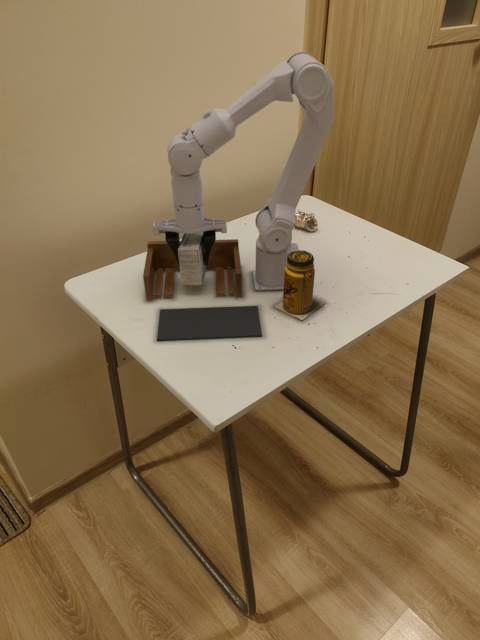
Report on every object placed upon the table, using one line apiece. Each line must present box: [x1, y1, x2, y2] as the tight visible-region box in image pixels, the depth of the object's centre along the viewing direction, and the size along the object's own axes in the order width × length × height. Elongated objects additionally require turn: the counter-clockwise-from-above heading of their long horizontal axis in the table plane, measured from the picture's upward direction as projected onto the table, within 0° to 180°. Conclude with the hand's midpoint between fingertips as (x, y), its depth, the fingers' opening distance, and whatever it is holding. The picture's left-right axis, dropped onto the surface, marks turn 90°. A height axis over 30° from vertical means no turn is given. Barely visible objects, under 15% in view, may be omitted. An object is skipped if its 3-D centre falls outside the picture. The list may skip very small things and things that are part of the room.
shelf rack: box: [142, 238, 243, 302], centre depth 108 cm, size 20×13×7 cm, turn 96°
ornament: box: [294, 209, 319, 232], centre depth 132 cm, size 8×7×4 cm
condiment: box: [274, 249, 327, 321], centre depth 101 cm, size 7×8×12 cm
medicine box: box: [178, 232, 207, 286], centre depth 105 cm, size 8×4×9 cm, turn 178°
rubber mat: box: [156, 305, 263, 342], centre depth 99 cm, size 20×10×1 cm, turn 96°
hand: (193, 263), depth 106 cm, fingers closed on medicine box, 5 cm apart
